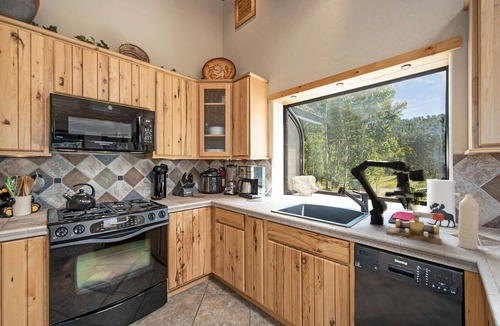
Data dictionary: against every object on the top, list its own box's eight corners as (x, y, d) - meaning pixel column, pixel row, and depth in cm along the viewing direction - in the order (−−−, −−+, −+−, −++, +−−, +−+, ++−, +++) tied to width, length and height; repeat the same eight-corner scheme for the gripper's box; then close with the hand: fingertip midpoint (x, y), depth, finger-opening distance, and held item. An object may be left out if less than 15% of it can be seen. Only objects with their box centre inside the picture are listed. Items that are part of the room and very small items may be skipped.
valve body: (395, 231, 116) (395, 215, 116) (396, 228, 121) (396, 213, 121) (439, 239, 105) (439, 221, 105) (438, 236, 110) (438, 218, 110)
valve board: (385, 233, 117) (386, 231, 117) (388, 228, 126) (388, 226, 125) (440, 244, 103) (440, 241, 103) (439, 238, 111) (439, 235, 111)
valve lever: (413, 217, 112) (413, 211, 112) (412, 215, 115) (412, 210, 115) (443, 221, 106) (443, 215, 106) (442, 219, 108) (442, 213, 108)
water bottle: (475, 246, 101) (477, 194, 100) (479, 251, 96) (481, 196, 95) (450, 241, 106) (452, 192, 105) (452, 246, 101) (454, 194, 100)
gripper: (379, 183, 126) (382, 209, 124) (417, 182, 111) (421, 212, 109) (387, 182, 132) (390, 208, 131) (424, 181, 117) (428, 210, 116)
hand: (406, 209), depth 121 cm, fingers closed
